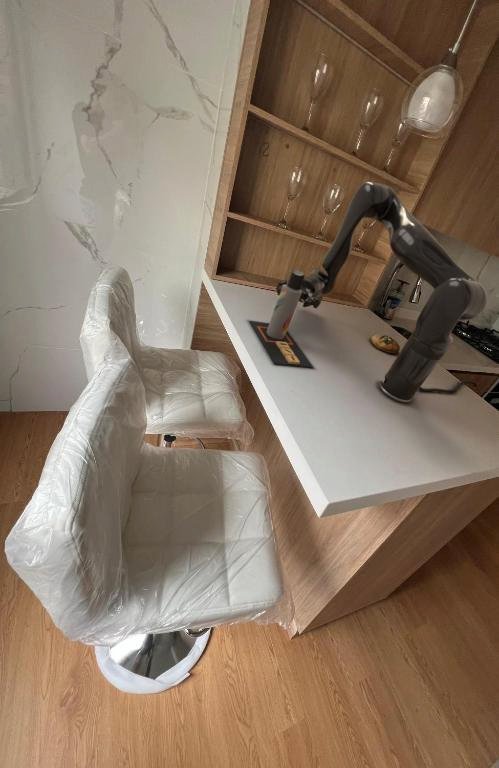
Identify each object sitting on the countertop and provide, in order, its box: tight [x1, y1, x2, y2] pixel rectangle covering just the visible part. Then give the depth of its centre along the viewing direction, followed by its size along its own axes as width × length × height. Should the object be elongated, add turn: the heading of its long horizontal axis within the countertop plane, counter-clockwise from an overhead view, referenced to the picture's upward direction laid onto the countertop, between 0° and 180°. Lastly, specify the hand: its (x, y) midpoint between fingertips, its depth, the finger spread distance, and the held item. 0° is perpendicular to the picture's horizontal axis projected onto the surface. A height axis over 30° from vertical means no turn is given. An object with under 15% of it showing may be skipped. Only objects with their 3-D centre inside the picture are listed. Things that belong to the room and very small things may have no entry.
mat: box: [249, 320, 314, 369], centre depth 97 cm, size 24×12×1 cm, turn 17°
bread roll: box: [370, 333, 401, 354], centre depth 121 cm, size 11×11×5 cm
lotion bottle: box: [267, 269, 306, 340], centre depth 95 cm, size 6×6×20 cm
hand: (291, 298), depth 97 cm, fingers open, 8 cm apart
